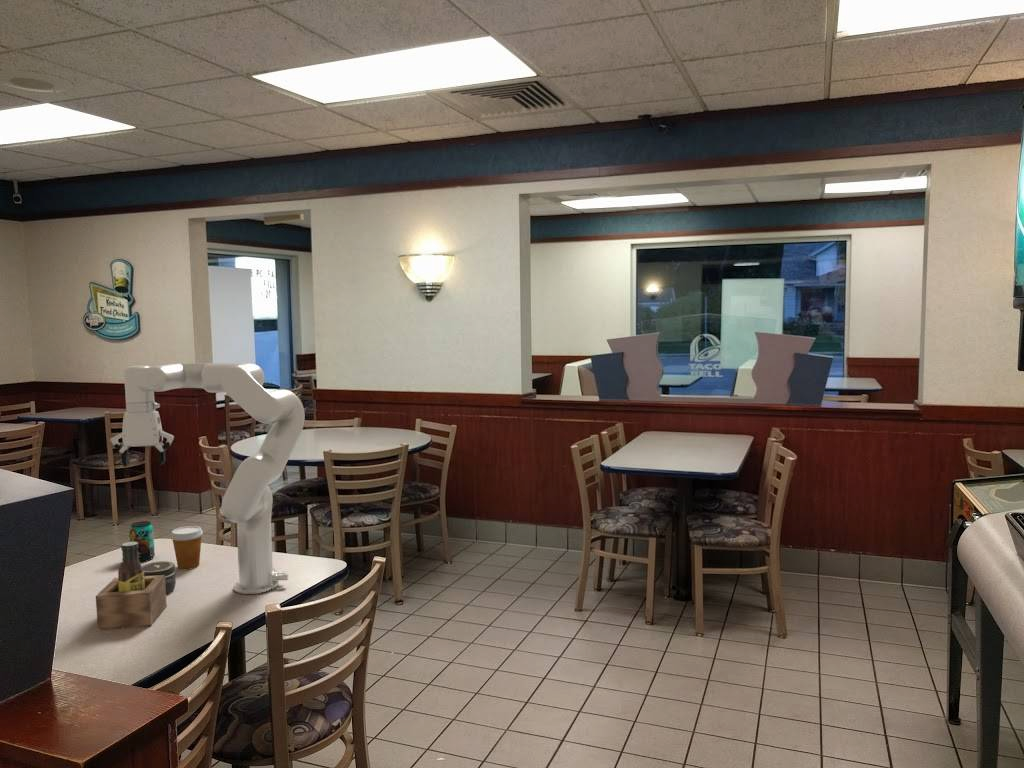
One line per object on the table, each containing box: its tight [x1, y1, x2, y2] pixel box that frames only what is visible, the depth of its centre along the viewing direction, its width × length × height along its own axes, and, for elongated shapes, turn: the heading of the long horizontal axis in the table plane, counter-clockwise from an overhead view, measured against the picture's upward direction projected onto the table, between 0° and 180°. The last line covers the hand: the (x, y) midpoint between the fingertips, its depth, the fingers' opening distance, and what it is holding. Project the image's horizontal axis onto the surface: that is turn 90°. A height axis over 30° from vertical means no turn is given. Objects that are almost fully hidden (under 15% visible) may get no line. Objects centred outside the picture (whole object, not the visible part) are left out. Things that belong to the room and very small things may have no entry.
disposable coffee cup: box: [170, 525, 204, 570], centre depth 237 cm, size 10×10×12 cm
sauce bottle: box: [117, 541, 145, 592], centre depth 197 cm, size 6×6×20 cm
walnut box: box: [95, 575, 168, 630], centre depth 198 cm, size 13×13×9 cm
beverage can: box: [128, 520, 156, 562], centre depth 245 cm, size 7×7×12 cm
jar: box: [141, 560, 177, 595], centre depth 216 cm, size 10×10×8 cm
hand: (144, 465), depth 219 cm, fingers open, 9 cm apart
